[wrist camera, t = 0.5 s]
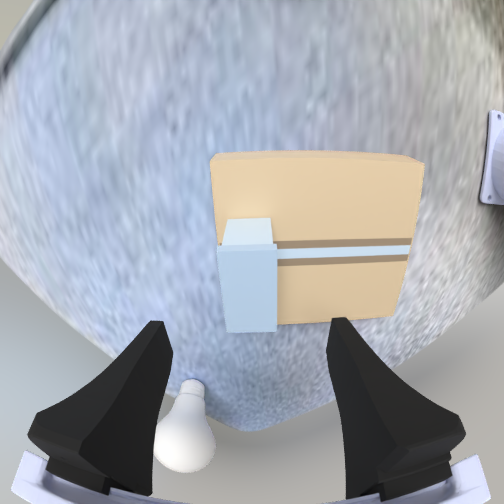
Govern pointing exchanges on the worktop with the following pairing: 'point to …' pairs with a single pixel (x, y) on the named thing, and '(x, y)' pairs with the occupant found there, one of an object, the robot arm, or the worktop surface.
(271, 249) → the tab
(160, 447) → the lightbulb
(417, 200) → the carton
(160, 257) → the worktop surface
